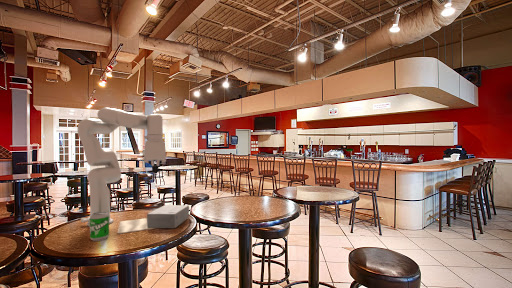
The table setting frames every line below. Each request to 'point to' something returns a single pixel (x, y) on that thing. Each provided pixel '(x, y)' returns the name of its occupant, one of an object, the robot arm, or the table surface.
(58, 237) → the table surface
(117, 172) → the robot arm
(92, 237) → the soda can
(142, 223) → the board
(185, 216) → the hard drive box
